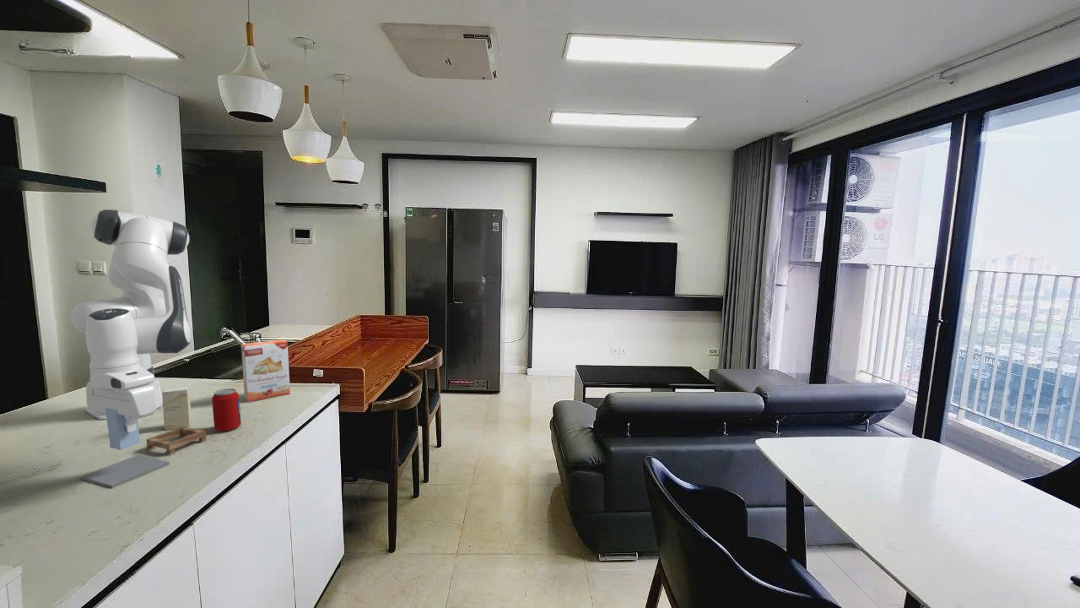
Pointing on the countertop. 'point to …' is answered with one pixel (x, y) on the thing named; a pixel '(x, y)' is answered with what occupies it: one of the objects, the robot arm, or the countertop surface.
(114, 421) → the peg
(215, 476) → the countertop surface
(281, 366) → the cracker box
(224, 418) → the beverage can
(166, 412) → the skincare box
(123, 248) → the robot arm
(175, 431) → the wooden square frame
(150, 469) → the mat
